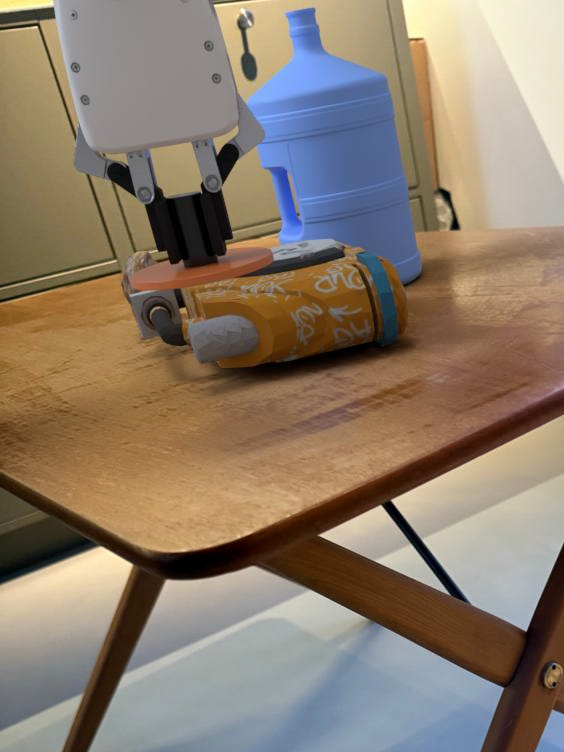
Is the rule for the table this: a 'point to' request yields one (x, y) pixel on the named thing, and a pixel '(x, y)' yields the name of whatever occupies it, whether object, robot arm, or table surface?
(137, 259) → the lion figurine
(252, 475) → the table surface
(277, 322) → the device
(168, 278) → the lid
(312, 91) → the water jug
